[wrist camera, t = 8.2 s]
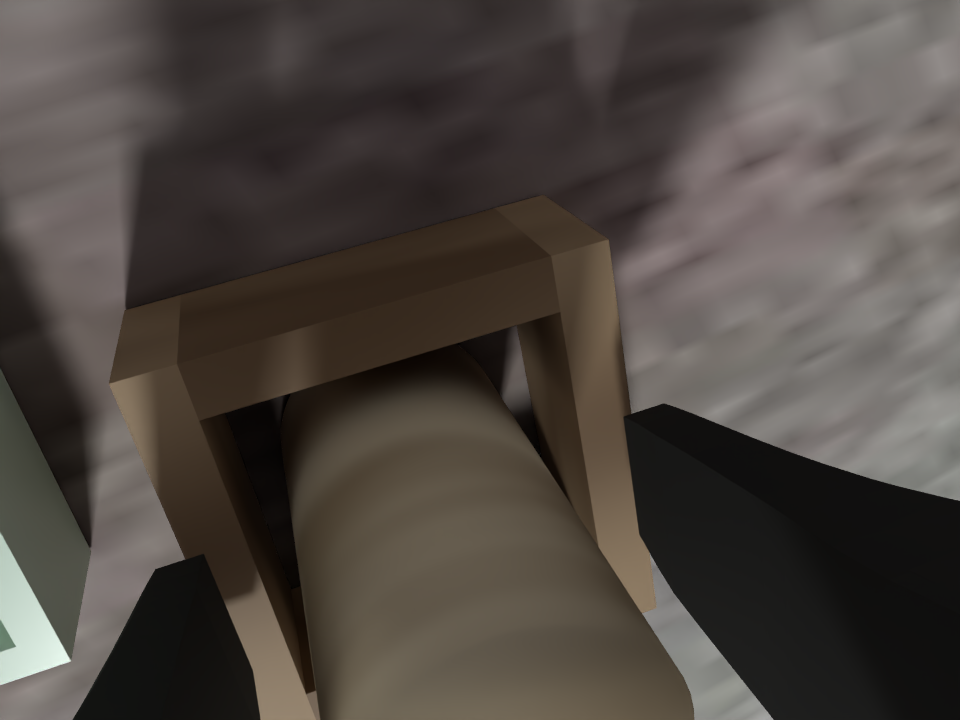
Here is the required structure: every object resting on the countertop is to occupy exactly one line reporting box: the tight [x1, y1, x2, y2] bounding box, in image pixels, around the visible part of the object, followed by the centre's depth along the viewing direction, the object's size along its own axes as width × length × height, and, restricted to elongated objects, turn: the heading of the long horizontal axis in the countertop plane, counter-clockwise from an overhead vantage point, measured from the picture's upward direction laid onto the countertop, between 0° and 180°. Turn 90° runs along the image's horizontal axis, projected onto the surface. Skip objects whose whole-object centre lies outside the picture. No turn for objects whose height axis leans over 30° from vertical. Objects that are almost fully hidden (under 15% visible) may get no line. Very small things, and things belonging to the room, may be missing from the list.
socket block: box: [109, 195, 656, 720], centre depth 14 cm, size 6×6×2 cm
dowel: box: [281, 344, 694, 720], centre depth 12 cm, size 4×4×7 cm
